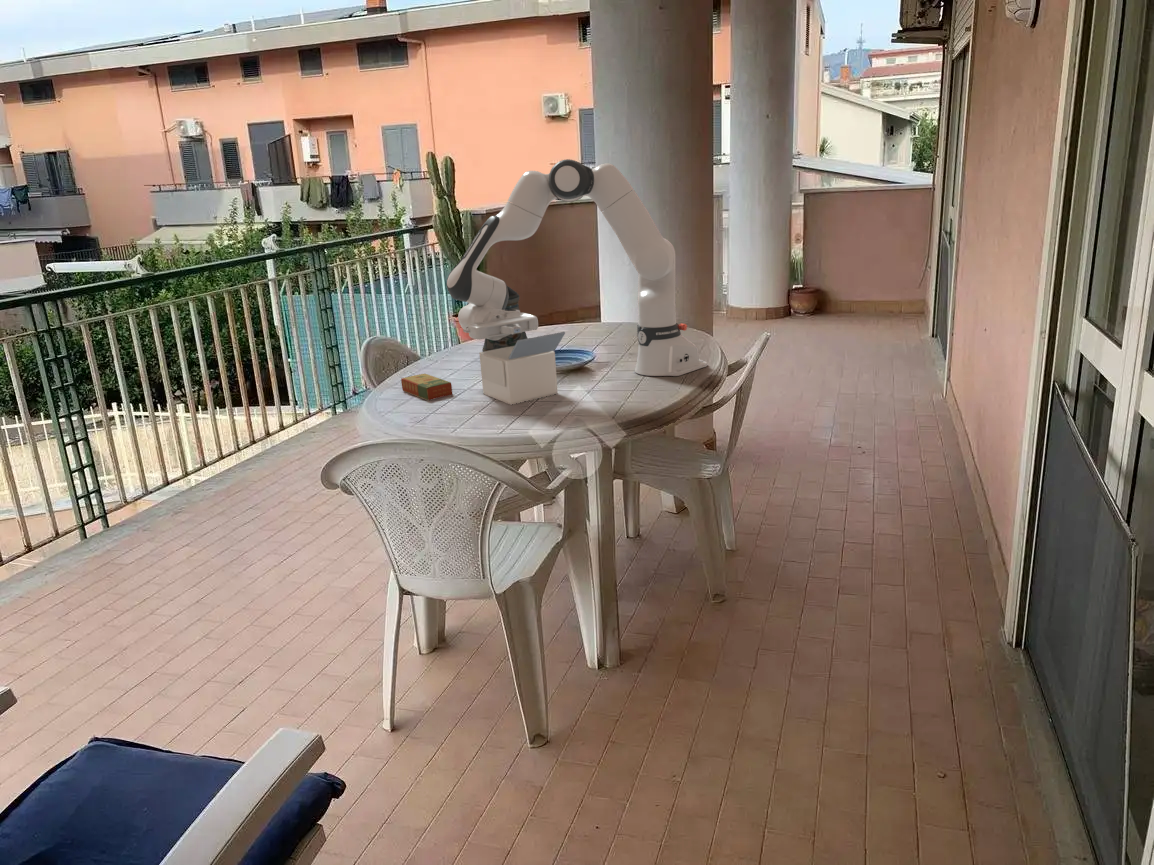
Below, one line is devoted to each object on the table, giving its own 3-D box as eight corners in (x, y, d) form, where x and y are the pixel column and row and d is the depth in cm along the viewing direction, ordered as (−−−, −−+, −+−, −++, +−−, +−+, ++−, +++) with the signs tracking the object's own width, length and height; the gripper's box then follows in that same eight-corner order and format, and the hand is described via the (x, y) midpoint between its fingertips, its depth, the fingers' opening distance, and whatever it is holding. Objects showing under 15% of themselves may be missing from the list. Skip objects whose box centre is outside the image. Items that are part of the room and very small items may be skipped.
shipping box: (529, 383, 244) (526, 343, 240) (559, 393, 230) (556, 351, 227) (480, 393, 235) (476, 352, 232) (508, 405, 222) (504, 361, 218)
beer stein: (541, 356, 277) (535, 281, 270) (492, 366, 267) (484, 289, 259) (514, 349, 290) (508, 278, 282) (466, 359, 279) (458, 285, 272)
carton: (426, 386, 249) (425, 372, 248) (453, 395, 237) (452, 381, 236) (401, 391, 244) (400, 377, 243) (427, 401, 232) (426, 387, 231)
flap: (564, 331, 219) (565, 333, 219) (554, 348, 226) (555, 350, 225) (517, 340, 212) (518, 341, 212) (508, 357, 218) (509, 359, 218)
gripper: (459, 318, 230) (482, 324, 219) (522, 308, 241) (547, 314, 230) (461, 340, 232) (484, 348, 221) (523, 330, 243) (548, 336, 232)
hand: (517, 330), depth 225 cm, fingers closed
